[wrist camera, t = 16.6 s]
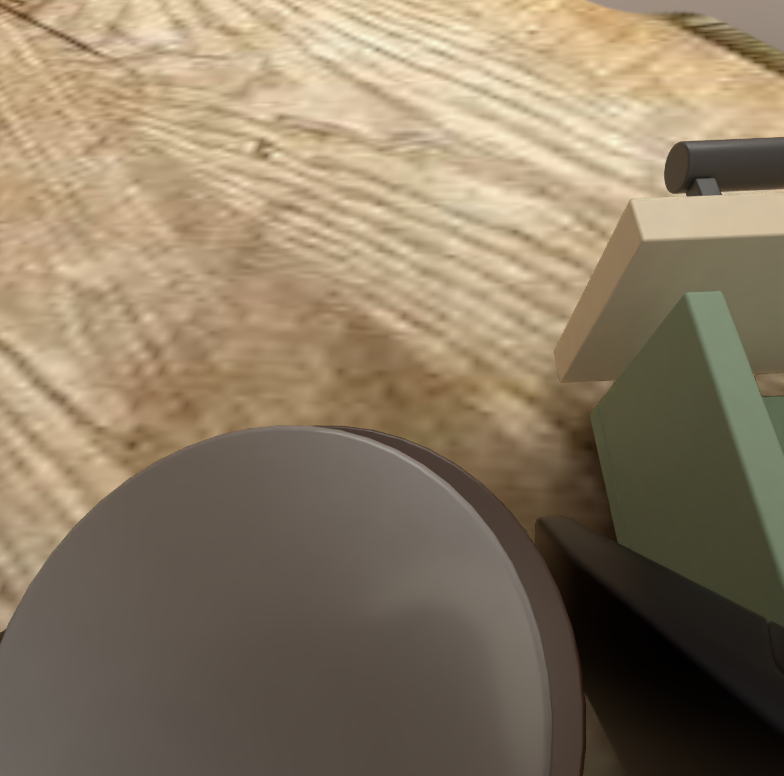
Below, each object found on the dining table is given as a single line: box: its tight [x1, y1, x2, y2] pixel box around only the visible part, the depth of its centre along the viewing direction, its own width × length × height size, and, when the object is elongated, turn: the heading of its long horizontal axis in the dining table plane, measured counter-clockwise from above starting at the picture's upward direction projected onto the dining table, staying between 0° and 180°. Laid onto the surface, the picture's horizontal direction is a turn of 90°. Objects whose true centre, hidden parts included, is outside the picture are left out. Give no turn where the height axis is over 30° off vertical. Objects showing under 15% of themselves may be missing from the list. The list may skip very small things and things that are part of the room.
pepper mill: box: [0, 425, 586, 776], centre depth 9 cm, size 5×5×12 cm
